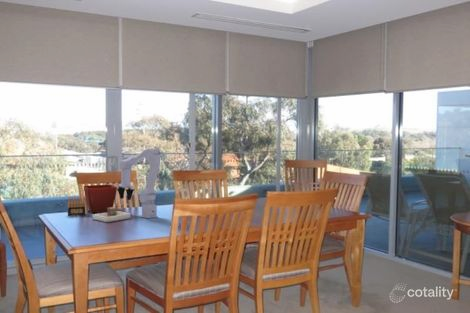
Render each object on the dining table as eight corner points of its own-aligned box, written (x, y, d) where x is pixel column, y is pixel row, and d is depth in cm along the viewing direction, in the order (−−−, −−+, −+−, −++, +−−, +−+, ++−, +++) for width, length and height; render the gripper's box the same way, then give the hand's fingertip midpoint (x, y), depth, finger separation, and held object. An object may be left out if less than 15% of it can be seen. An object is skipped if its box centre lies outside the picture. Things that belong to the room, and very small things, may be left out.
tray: (130, 218, 284) (130, 213, 284) (106, 222, 270) (106, 217, 270) (117, 215, 293) (117, 210, 293) (92, 219, 279) (92, 214, 279)
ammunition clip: (67, 215, 291) (67, 196, 290) (67, 214, 293) (67, 196, 292) (85, 214, 295) (85, 196, 294) (85, 214, 296) (85, 195, 296)
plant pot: (83, 209, 314) (83, 185, 313) (111, 207, 322) (111, 184, 322) (87, 214, 297) (87, 188, 296) (117, 212, 305) (117, 187, 305)
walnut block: (116, 217, 282) (116, 207, 281) (111, 218, 279) (111, 208, 278) (112, 216, 284) (112, 207, 284) (107, 217, 281) (107, 207, 281)
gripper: (113, 178, 302) (113, 198, 303) (127, 180, 293) (127, 200, 294) (122, 177, 307) (122, 197, 308) (136, 179, 298) (136, 199, 299)
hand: (125, 199), depth 301 cm, fingers open, 7 cm apart
